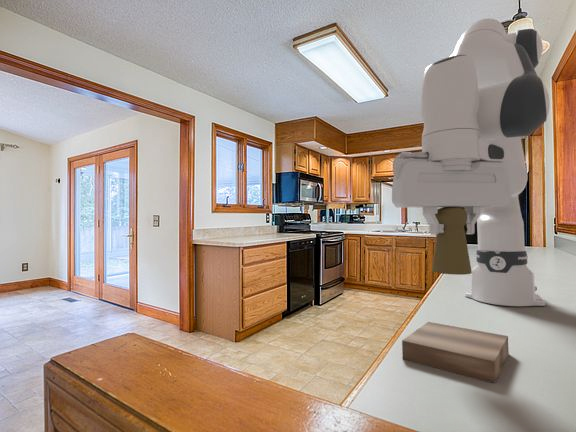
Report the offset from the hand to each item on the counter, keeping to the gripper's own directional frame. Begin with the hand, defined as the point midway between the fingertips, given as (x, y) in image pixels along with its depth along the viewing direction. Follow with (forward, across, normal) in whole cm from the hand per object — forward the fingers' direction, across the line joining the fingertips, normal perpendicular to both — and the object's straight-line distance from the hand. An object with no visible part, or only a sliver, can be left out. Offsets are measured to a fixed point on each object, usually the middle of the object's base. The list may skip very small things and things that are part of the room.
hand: (452, 234), depth 54 cm
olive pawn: (+7, 0, 0) cm, 7 cm away
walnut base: (+20, 0, 0) cm, 20 cm away
